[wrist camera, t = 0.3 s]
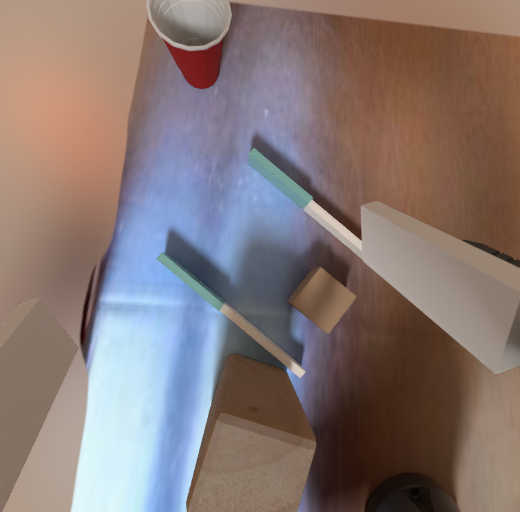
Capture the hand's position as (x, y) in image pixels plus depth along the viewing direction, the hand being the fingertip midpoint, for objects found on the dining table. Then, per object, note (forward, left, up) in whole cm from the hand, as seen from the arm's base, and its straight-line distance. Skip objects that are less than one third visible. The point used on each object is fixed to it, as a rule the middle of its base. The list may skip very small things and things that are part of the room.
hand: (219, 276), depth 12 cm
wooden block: (-13, +13, -35) cm, 39 cm away
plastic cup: (+27, -22, -35) cm, 49 cm away
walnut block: (-12, -5, -35) cm, 37 cm away
